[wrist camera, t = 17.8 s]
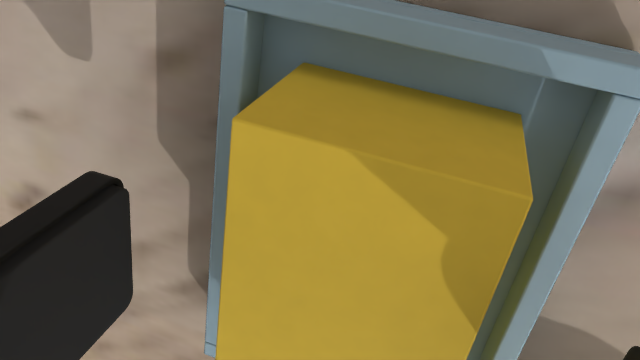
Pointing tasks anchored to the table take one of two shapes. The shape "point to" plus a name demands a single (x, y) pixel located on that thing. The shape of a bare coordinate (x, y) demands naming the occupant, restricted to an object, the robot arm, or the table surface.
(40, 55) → the table surface
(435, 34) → the light blue tray
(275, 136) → the sponge
